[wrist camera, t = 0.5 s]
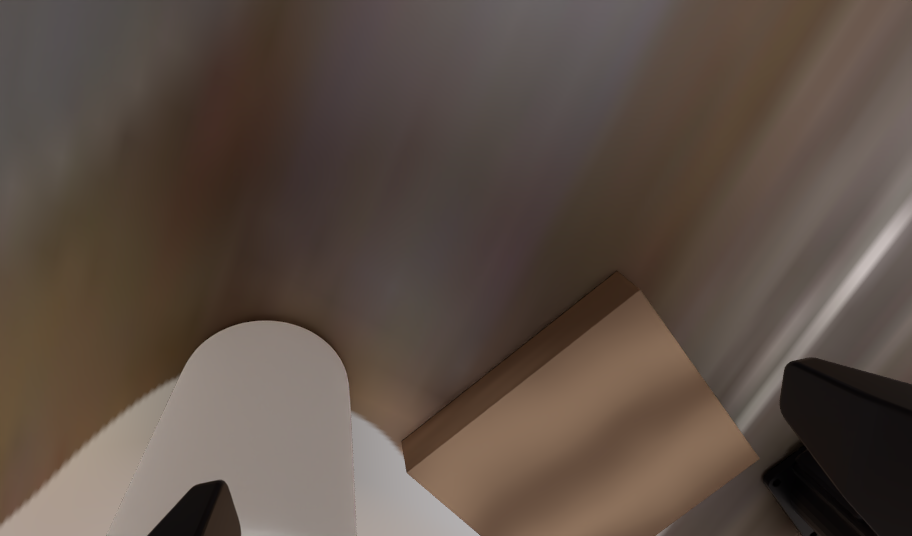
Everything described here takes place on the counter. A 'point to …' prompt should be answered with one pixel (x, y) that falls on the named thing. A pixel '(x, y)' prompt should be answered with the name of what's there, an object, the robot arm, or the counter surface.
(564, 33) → the counter surface
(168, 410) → the can
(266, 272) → the counter surface
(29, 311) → the counter surface
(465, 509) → the base
